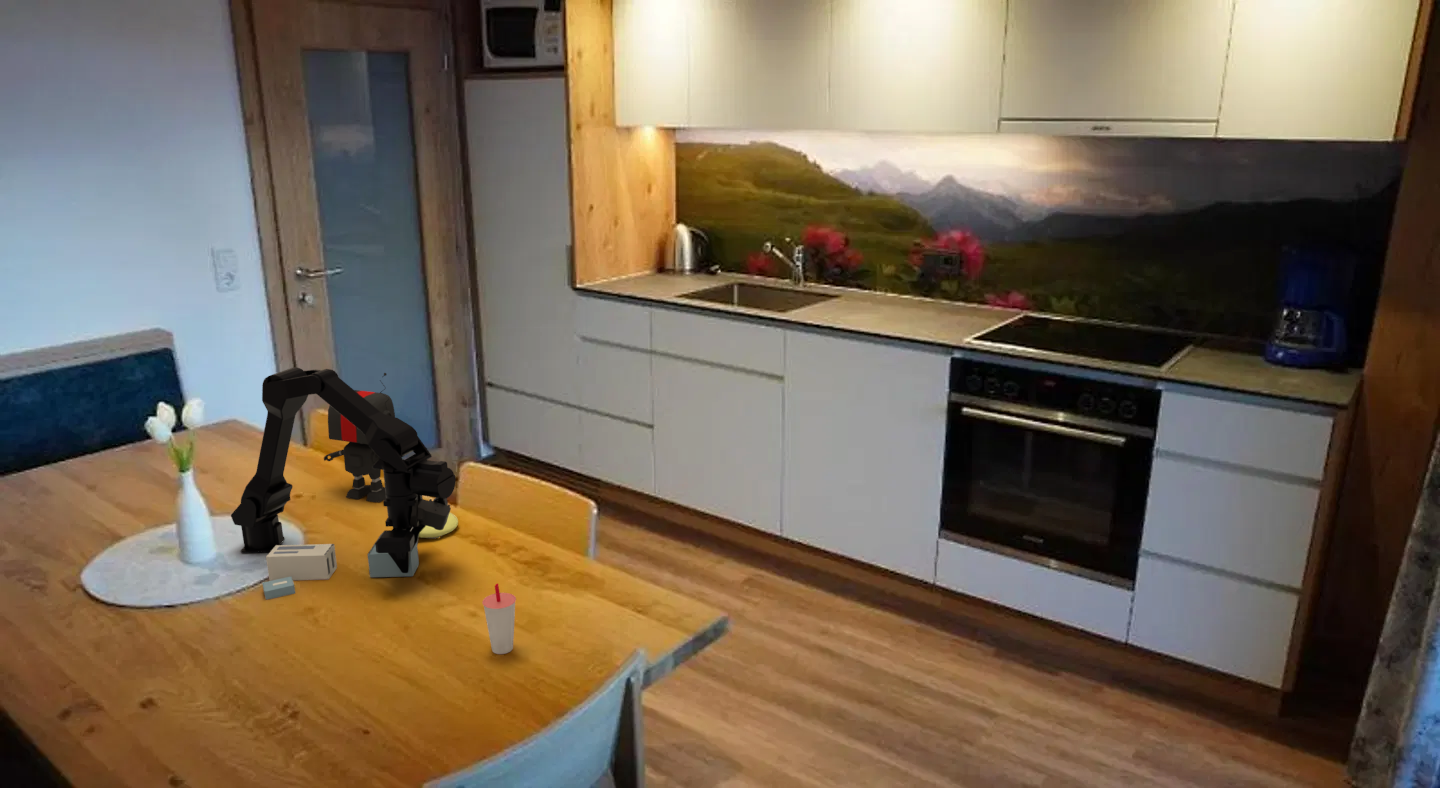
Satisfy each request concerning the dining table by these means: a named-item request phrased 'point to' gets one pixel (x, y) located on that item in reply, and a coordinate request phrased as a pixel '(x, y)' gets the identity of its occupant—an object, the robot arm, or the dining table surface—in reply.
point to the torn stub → (278, 588)
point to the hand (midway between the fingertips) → (408, 566)
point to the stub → (390, 564)
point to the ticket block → (302, 562)
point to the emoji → (433, 533)
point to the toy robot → (359, 448)
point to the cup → (500, 620)
